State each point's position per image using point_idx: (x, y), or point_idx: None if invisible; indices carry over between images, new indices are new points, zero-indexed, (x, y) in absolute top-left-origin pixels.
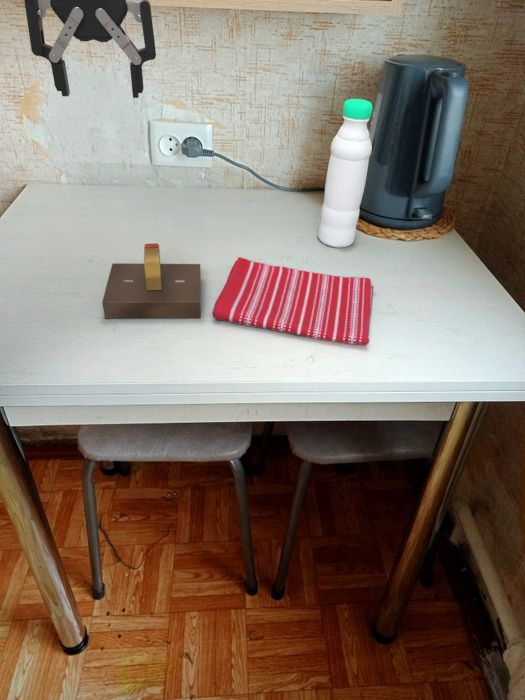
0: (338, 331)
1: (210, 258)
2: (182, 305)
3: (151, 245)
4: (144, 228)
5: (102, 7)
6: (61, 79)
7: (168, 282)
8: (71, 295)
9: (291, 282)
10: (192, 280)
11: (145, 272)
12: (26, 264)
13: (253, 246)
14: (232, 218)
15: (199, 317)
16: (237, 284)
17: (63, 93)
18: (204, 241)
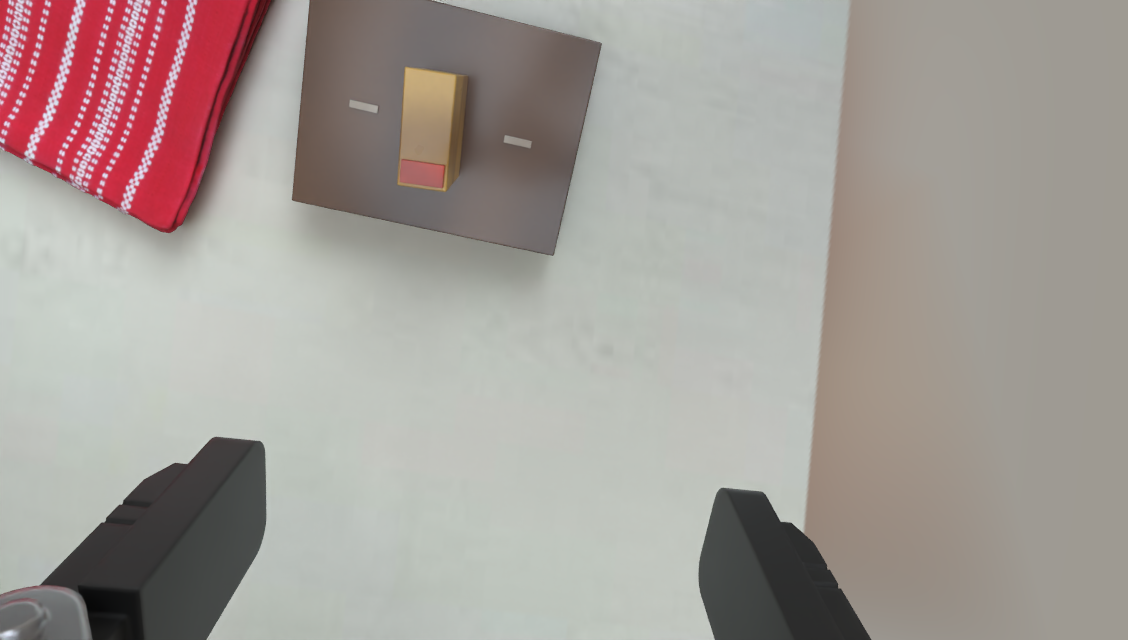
0: None
1: (269, 302)
2: None
3: (422, 171)
4: (446, 496)
5: None
6: (781, 556)
7: (399, 109)
8: (671, 186)
9: (10, 76)
10: (325, 105)
11: (460, 75)
12: (768, 362)
13: (128, 346)
14: None
15: None
16: (189, 86)
17: (752, 495)
18: (279, 399)
